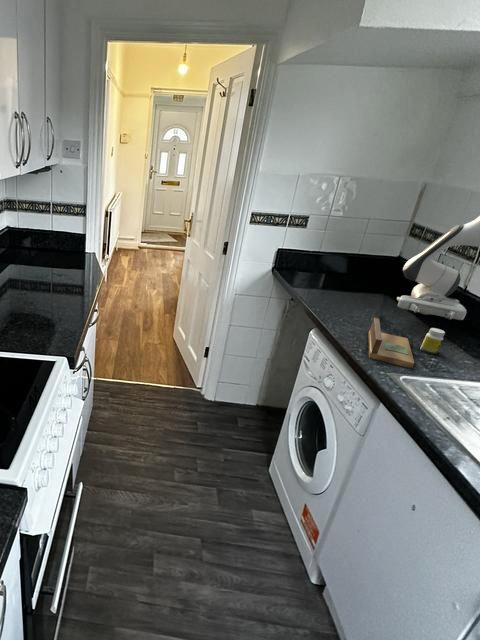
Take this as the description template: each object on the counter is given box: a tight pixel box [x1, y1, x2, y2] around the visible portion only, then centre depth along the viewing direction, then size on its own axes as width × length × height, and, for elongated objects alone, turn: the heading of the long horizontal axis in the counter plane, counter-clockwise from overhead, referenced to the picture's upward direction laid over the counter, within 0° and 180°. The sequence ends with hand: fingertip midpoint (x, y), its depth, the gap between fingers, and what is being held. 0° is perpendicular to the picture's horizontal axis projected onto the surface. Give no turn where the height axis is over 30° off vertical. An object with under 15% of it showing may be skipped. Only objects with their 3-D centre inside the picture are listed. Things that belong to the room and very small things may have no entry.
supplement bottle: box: [419, 327, 446, 355], centre depth 141 cm, size 5×5×8 cm
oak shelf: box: [367, 317, 415, 369], centre depth 142 cm, size 12×22×7 cm, turn 150°
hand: (433, 313), depth 149 cm, fingers open, 8 cm apart
